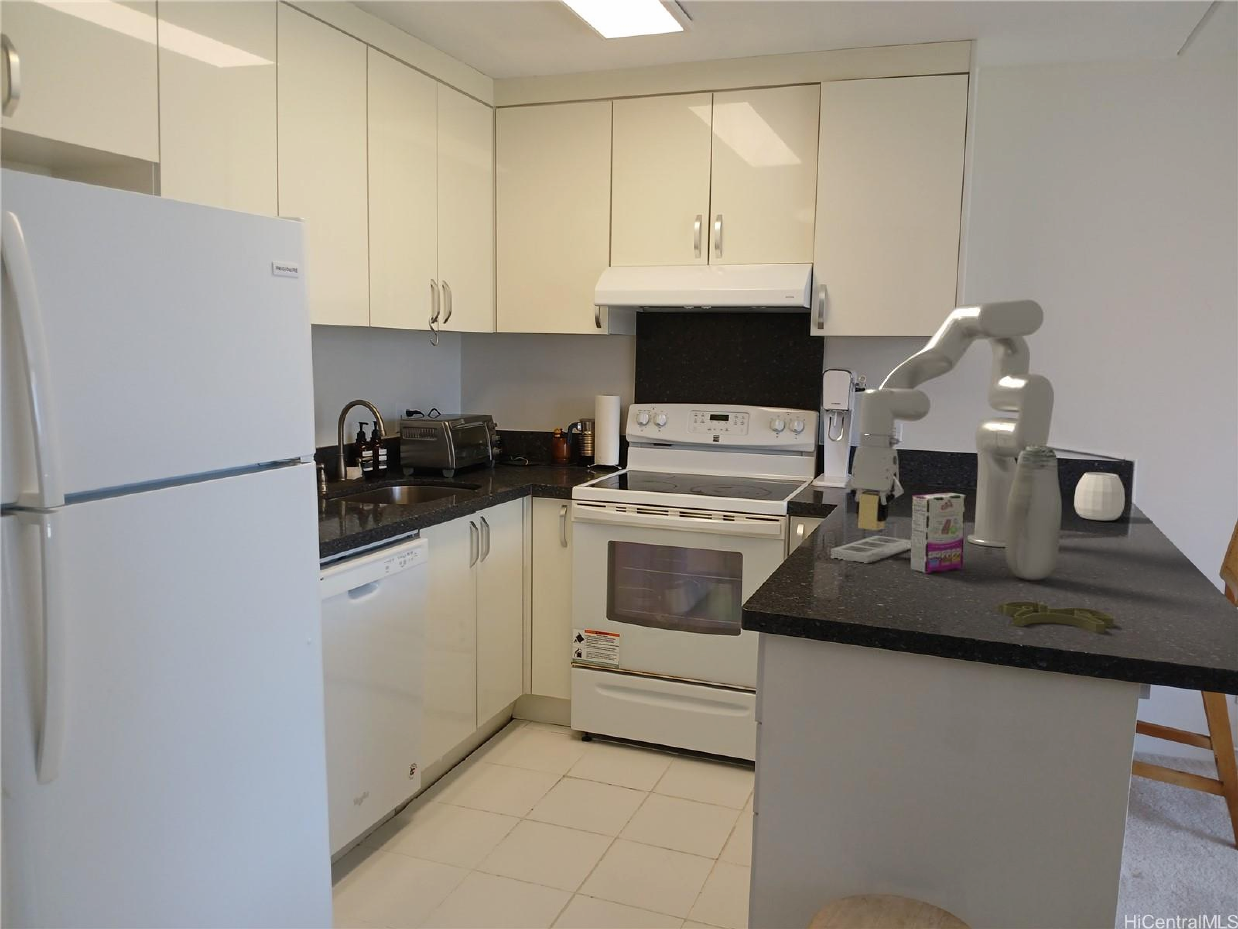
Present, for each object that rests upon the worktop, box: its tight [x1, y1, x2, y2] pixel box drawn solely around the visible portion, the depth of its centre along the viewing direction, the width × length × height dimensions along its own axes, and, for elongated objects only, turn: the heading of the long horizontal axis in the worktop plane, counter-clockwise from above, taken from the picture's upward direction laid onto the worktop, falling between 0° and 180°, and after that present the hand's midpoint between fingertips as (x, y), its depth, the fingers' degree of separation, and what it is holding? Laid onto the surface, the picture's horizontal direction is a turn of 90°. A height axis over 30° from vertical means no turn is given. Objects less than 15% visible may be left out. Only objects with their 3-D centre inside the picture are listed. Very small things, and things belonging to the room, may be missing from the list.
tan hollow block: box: [857, 491, 886, 531], centre depth 214 cm, size 4×4×8 cm
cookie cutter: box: [996, 600, 1115, 634], centre depth 159 cm, size 18×12×2 cm, turn 72°
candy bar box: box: [909, 492, 966, 575], centre depth 198 cm, size 11×5×16 cm, turn 117°
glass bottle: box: [1004, 445, 1063, 581], centre depth 189 cm, size 10×10×28 cm
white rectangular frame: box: [830, 535, 911, 564], centre depth 215 cm, size 9×24×2 cm, turn 140°
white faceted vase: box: [1073, 472, 1126, 522], centre depth 270 cm, size 13×13×14 cm
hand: (871, 518), depth 214 cm, fingers closed on tan hollow block, 4 cm apart
